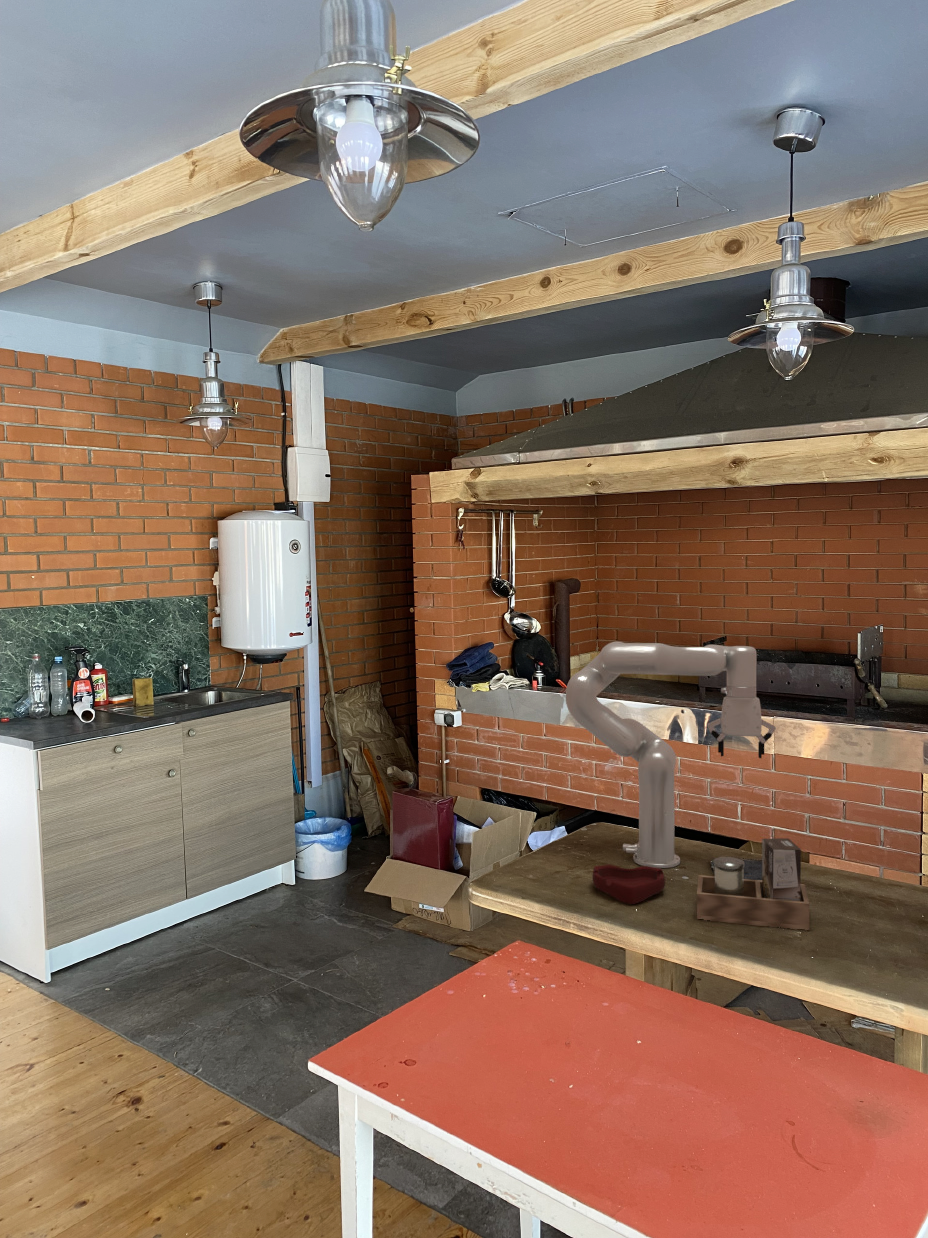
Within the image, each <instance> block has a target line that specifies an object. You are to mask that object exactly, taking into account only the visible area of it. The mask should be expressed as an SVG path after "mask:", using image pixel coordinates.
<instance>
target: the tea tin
mask: <svg viewBox="0 0 928 1238" xmlns="http://www.w3.org/2000/svg"><path fill="white" fill-rule="evenodd" d="M713 866H714V877H715V894H723V895H734V896H743V879H744V869H745V861H744V860H743V859H740V858H737V857H733V856H732V857H731V856H720V857H716V858H714V859H713Z"/></svg>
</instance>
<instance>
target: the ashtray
mask: <svg viewBox="0 0 928 1238" xmlns="http://www.w3.org/2000/svg"><path fill="white" fill-rule="evenodd" d="M665 877H666V876H665V874H664V871H663V868H654V867H649V866H642V865H640V866H638V867H634V868H624V867H620V866H616V865H613V864H603V865H595V866H594V867H593V871H592V883H593V886H595V888H596V889H597V890H599V891H600V892H602V893H605V894H607V895H608V896H610V897H612V898H614V899H616V900H618V901H619V902H622V903H624V904H626V905H636V903H637V904H640V903H642V902H643V901H645V900H647V899H649V898H651V897H652V896H653V895H657V894H659V893H661V891H663V889H664V888H665V887H666V878H665ZM641 901H642V902H641ZM639 902H640V903H639Z"/></svg>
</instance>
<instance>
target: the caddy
mask: <svg viewBox="0 0 928 1238" xmlns="http://www.w3.org/2000/svg"><path fill="white" fill-rule="evenodd" d="M697 880H698V881H697V889H696V920H697V919H704V920H703V921H707V920H710V921H709V922H717V921H718V923H719V922H720V923H729V924H739V925H749V926H759V927H767V926H769V927H768V928H777V927H781V928H780V929H787V928H790V930H797V929H805V930H804V931H807V930H809V931H810V901H809V896H808V892H807V889H806V884H804V883H800V901H789V900H778V899H767V898H762V880H760V879H746V878H743V896H734V895H723V894H715V875H714V876H713V875H712V876H711V875H702V874H701V875H700V874H699V875H698V879H697Z"/></svg>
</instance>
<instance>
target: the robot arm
mask: <svg viewBox="0 0 928 1238" xmlns="http://www.w3.org/2000/svg"><path fill="white" fill-rule="evenodd" d="M725 671H726V686H725V687H721V688H720V693H721V694H725V695H726V696H724V697H723V700H722V705H721V717H720V718H717V719H715V720H713V721H710V722H708V723H707V728H708V730H709V732H710V734H711V736H713V738H715V739H716V741H717V753H718V754H719V753H720V757H724V756H725V755H724V749H725V748H724V747H725V744H724V743H725V741H724V738H725V737H726V736H730V737H732V736H733V737H753V738H754V737H756V738H757V739H758V746H757V747H758V750H757V751H758V753H757V755H758V758H759V759H762V755H763V756H764V755H765V743H766V742H768V741H769V739H770V738H771V737H772V736H773V735H774V733H775V732H776V729H777V728H776V726H775V725H773V724H771V723H769V722H767V721H766V720H764V719H762V709H761V708H762V707H761V702H760V701H761V700H760V698H759V697H757V650H756V648H755V647H753V646H749V645H747V646H746V645H734V646H733V645H732V646H727V645H718V644H706V645H705V646H702V647H697V646H696V647H695V646H694V647H691V646H689V647H688V646H687V647H685V646H671V645H669V644H668V645H667V644H665V643H660V642H659V643H658V642H646V643H645V642H644V643H643V642H641V643H640V642H635V643H633V642H630V643H629V642H623V641H612V642H609V643H607V644H606V645H604V647H602V649H601V651H600V652H599V653H598V654H597V655H596V656H595V657H593V659H592V660H591V661H589V662H588V664H586V665H585V666H584V667H583V668H582V669H580V670H579V671H578V672H576V673H574V674H573V675H572V676H571V677H570V679H569V680H568V683H567V685H566V688H565V705H566V708H567V710H568V712H569V713H570V716H571V717H572V718H573V719H574V720H575V721H576V722H577V723H578V724H579V725H580V726H582V727H583V728H584V729H585V730H586V731H588V732H589V733H590V734H591V735H592V736H594V737H595V738H596V739H597V740H599V741H600V742H601V743H603V744H604V745H605V746H606V747H608V749H610V750H611V751H612V752H613V753H615V754H616V755H618V756H620V757H624V758H628V757H631V758H632V759H633V760H635V761H636V762H637V763H638V764H637V777H638V842H637V843H634V844H630V843H622V851H624V852H625V853H629V854H633V856H632V857H633V862H634V863H636V864H637V865H640V866H649V867H654V868H660V869H668V868H669V869H670V868H674V867H677V866H678V865H680V864H681V858H680V856H679V855H678V854H676V853H675V769H676V765H677V763H676V762H677V755H676V753H675V752H676V751H674V749H673V748H672V746H671V745H670V744H669V743H668V742H666V741H665V740H664V739H662V738H661V737H660V736H658V735H657V734H656V733H655V732H653V731H652V730H650V729H649V728H648V727H646V726H645V725H644V724H642V723H641V722H640V721H637V720H636V719H633V718H626V717H625V718H622V717H621V716H619V715H618V714H616V712H614V711H612V709H610V708H609V707H607V706H606V705H604V704H603V703H601V702H600V700H598V697H597V696H598V695H599V694H600V693H601V692H603V691H604V689H606V687H608V686H609V685H610V684H611V683H612V682H614V681H615V680H616V679H617V678H618V677H619V676H620V675H630V674H631V675H662V676H668V675H669V676H671V675H672V676H690V677H691V676H692V677H693V676H696V677H697V676H698V677H700V676H703V677H708V676H709V677H710V676H711V677H712V676H716V675H718V674H720V673H722V672H725ZM719 725H720V726H721V727H720V728H721V729H720V731H721V732H720V733H719V732H717V731H716V729H715V727H716V726H719ZM763 727H765V728H766V729H768V730H767V732H766V733H765V734H764V735H763V734H762V728H763Z"/></svg>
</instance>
